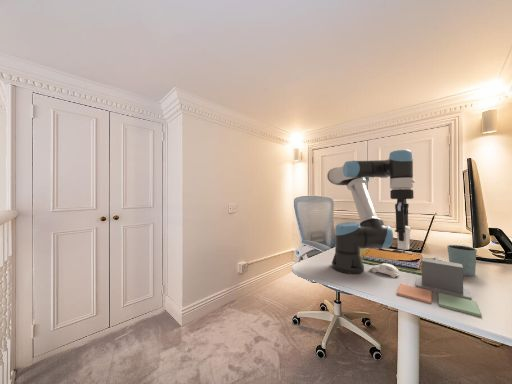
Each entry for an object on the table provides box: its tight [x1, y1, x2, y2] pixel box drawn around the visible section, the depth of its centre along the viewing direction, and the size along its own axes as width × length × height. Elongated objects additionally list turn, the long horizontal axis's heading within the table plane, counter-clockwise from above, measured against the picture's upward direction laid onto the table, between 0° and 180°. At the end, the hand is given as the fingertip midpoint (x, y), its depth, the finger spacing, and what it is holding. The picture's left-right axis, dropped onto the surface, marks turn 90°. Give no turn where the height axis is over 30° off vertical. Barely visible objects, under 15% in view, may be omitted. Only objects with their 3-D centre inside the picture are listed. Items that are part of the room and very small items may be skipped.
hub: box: [415, 257, 473, 301], centre depth 82 cm, size 16×8×11 cm, turn 49°
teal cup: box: [446, 244, 478, 277], centre depth 100 cm, size 10×10×12 cm
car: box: [369, 262, 401, 278], centre depth 99 cm, size 12×6×5 cm, turn 46°
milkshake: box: [393, 222, 411, 251], centre depth 81 cm, size 4×5×10 cm
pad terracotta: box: [396, 283, 433, 305], centre depth 79 cm, size 10×10×1 cm
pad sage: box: [437, 292, 483, 318], centre depth 71 cm, size 10×10×1 cm
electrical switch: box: [429, 255, 440, 260], centre depth 93 cm, size 9×5×9 cm, turn 141°
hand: (403, 247), depth 81 cm, fingers closed on milkshake, 4 cm apart
